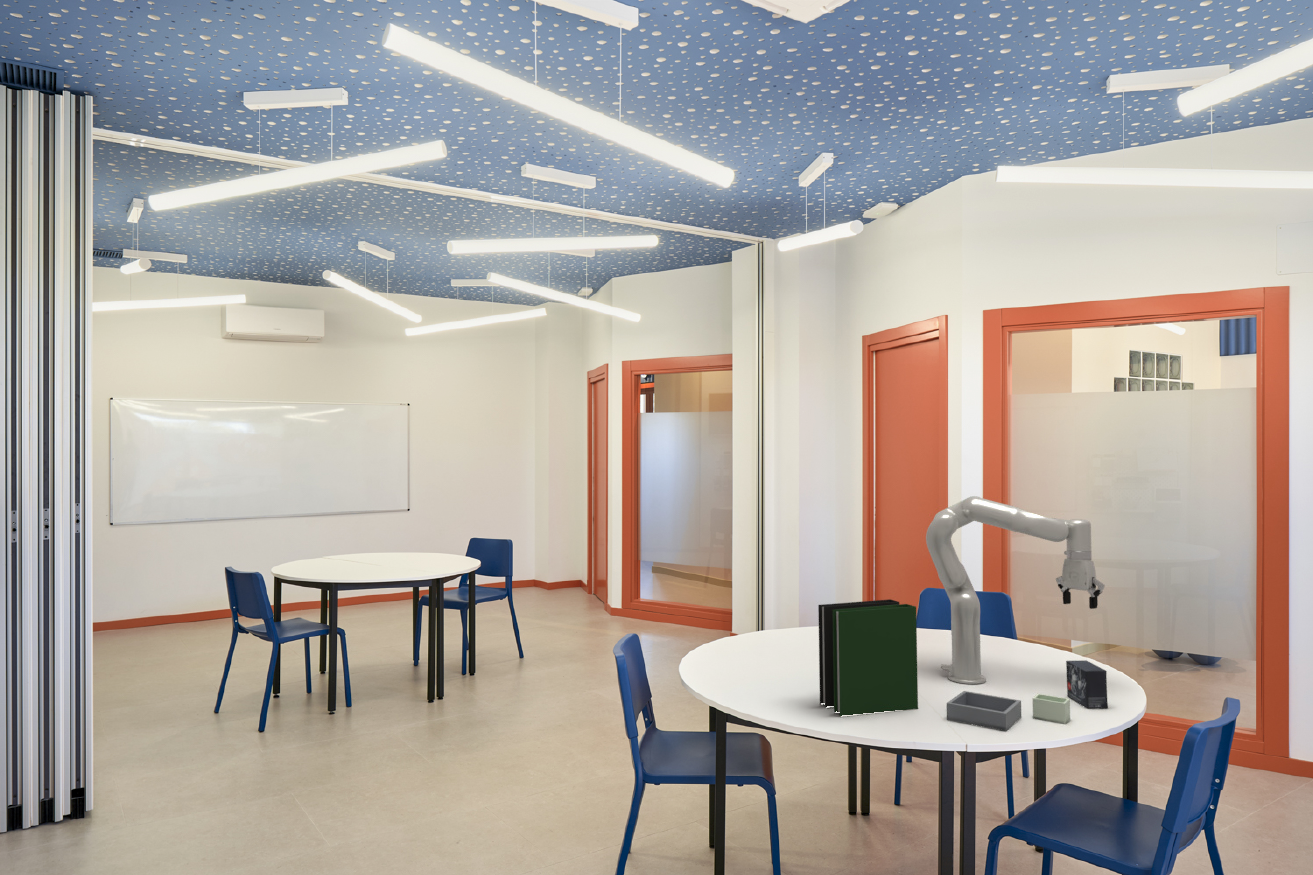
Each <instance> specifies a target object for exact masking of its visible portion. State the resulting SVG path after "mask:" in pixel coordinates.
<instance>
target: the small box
mask: <svg viewBox="0 0 1313 875" xmlns="http://www.w3.org/2000/svg"><path fill="white" fill-rule="evenodd" d="M1065 664H1066V690H1067V691H1066V693H1067V694H1066V695H1067V697H1068V699H1070V700H1072V701H1074V702H1076V703H1077V704H1079V705H1080V704H1081V705H1080V706H1081V707H1083V706H1084V708H1085V709H1087V710H1089V709H1093V710H1094V709H1095V710H1096V709H1097V710H1098V709H1102V710H1103V709H1107V710H1108V709H1109V703H1108V687H1107V683H1108V682H1107V679H1108V678H1107V675H1108V674H1107V672H1108V671H1107V670H1105V669H1103V668H1102V667H1100V666H1098V665H1096V664H1094V663H1093V662H1090V661H1088V660H1087V659H1086V660H1084V659H1082V660H1066V661H1065Z"/></svg>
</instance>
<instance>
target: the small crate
mask: <svg viewBox="0 0 1313 875" xmlns="http://www.w3.org/2000/svg"><path fill="white" fill-rule="evenodd" d="M1070 700H1071V698H1069V697H1068V698H1066V697H1060V696H1055V695H1050V694H1049V695H1048V694H1042V693H1037V694H1036V695H1035V696H1033V697H1032V719H1034V718H1035V720H1042V721H1046V722H1051V723H1058V724H1063V725H1066V724H1068V722H1069V721H1070V720H1071V701H1070Z"/></svg>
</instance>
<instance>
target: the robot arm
mask: <svg viewBox="0 0 1313 875" xmlns="http://www.w3.org/2000/svg"><path fill="white" fill-rule="evenodd" d="M972 522H977V523H981V524H985V525H988V526H993V527H996V528H1000V529H1004V530H1008V531H1011V532H1014V533H1020V534H1025V535H1027V536H1031V537H1036V538H1038V539H1042V540H1047V541H1050V542H1053V543H1061V542H1064V541H1065V540H1066V550H1064V551H1063V554H1064V555H1065V556H1066V558H1064V561H1063V565H1062V573H1061V574H1062V575H1061V576H1058V577H1056V578H1055V582H1056V584H1057V586H1058V589H1060V592H1061V593H1062V602H1063V603H1062V604H1064V605H1070V604H1071V603H1072V599H1071V598H1072V594H1071V591H1070V590H1071V589H1072V590H1077V591H1078V590H1079V591H1084V592H1085V591H1086V592H1088V594H1089V597H1088V599H1089V600H1088V601H1089V603H1088V605H1089V607H1088V608H1089V609H1090V610H1091V609H1092V610H1093V609H1095V610H1096V609H1097V608H1098V597H1099V596H1100V595H1101V594H1102V593H1103V590H1104V589H1105V586H1106V585H1105V584H1104V583H1103V582H1101V581H1099V580H1098V579H1097V575H1096V568H1095V563H1094V560H1092V559H1093V558H1092V557H1093V556H1092V524H1091V522H1090V521H1089V520H1087V519H1077V518H1076V519H1063V518H1055V517H1054V518H1053V517H1052V518H1051V517H1047V516H1042V515H1040V514H1036V513H1033V512H1029V511H1028V510H1027V511H1026V510H1024V509H1022V508H1020V507H1017V506H1013V505H1010V504H1006V503H1001V502H999V501H998V502H997V501H995V500H994V501H993V500H991V499H986V498H984V497H983V498H982V497H980V496H975V495H974V496H969V497H966V498H965V499H963V500H961V501H959V502H957V503H955V504H952V505H951V506H948V507H946V508H944V509H942V510H940V511H939V512H937V513H936V514H935V515H934V517H933V520H932V521H931V522H930V524H929V526H927V527H928V528H927V530H926V534H925V542H926V547H927V550H928V552H929V554H930V558H931V560H932V562H933V564H934V567H935V569H936V572H937V576H938V578H939V581H940V582H941V583H942V586H943V588H944V591H945V593H946V595H947V597H948V600H949V601H950V621H951V622H950V625H951V626H950V628H951V630H950V632H951V663H952V664H948V665H947V664H944V663H941V665H940V670H942V671H943V672H948V674H947V679H949V681H952V682H954V683H958V684H963V685H964V684H966V685H980V684H983V683H986V681H987V678H986V676H984V675H982V665H981V664H982V663H981V662H982V661H981V660H982V658H981V657H982V656H981V603H980V599H979V597H978V595H977V593H976V591H975V588H974V586H973V584H972V582H971V580H970V578H969V575H968V573H967V570H966V568H965V566H964V565H963V563H962V562H961V560H960V559H959V557H958V555H957V552H956V550H955V547H954V545H953V543H952V536H953V534H954V533H956V532H957V530H959V529H960V528H962V527H964V526H966V525H968V524H971V523H972ZM1096 588H1097V589H1096Z"/></svg>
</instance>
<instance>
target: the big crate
mask: <svg viewBox="0 0 1313 875" xmlns="http://www.w3.org/2000/svg"><path fill="white" fill-rule="evenodd" d="M1021 718H1022V700H1019V699H1014V698H1008V697H1003V696H996V695H992V694H991V695H989V694H984V693H980V692H973V691H967V690H963V691H962V692H960V693H959V694H957V695H956V696H954V697H953V698H951V699H950V700H949V701H947V702H946V720H947V721H950V722H957V723H962V724H966V725H971V724H973V725H972V726H976V725H977V727H981V726H982V728H988V729H992V730H997V731H1003V732H1007V731H1008V730H1009V729H1011V728H1012V727H1013V726H1014V725H1015V724H1016V723H1018V721H1019V720H1020V719H1021ZM1012 725H1013V726H1012Z"/></svg>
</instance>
